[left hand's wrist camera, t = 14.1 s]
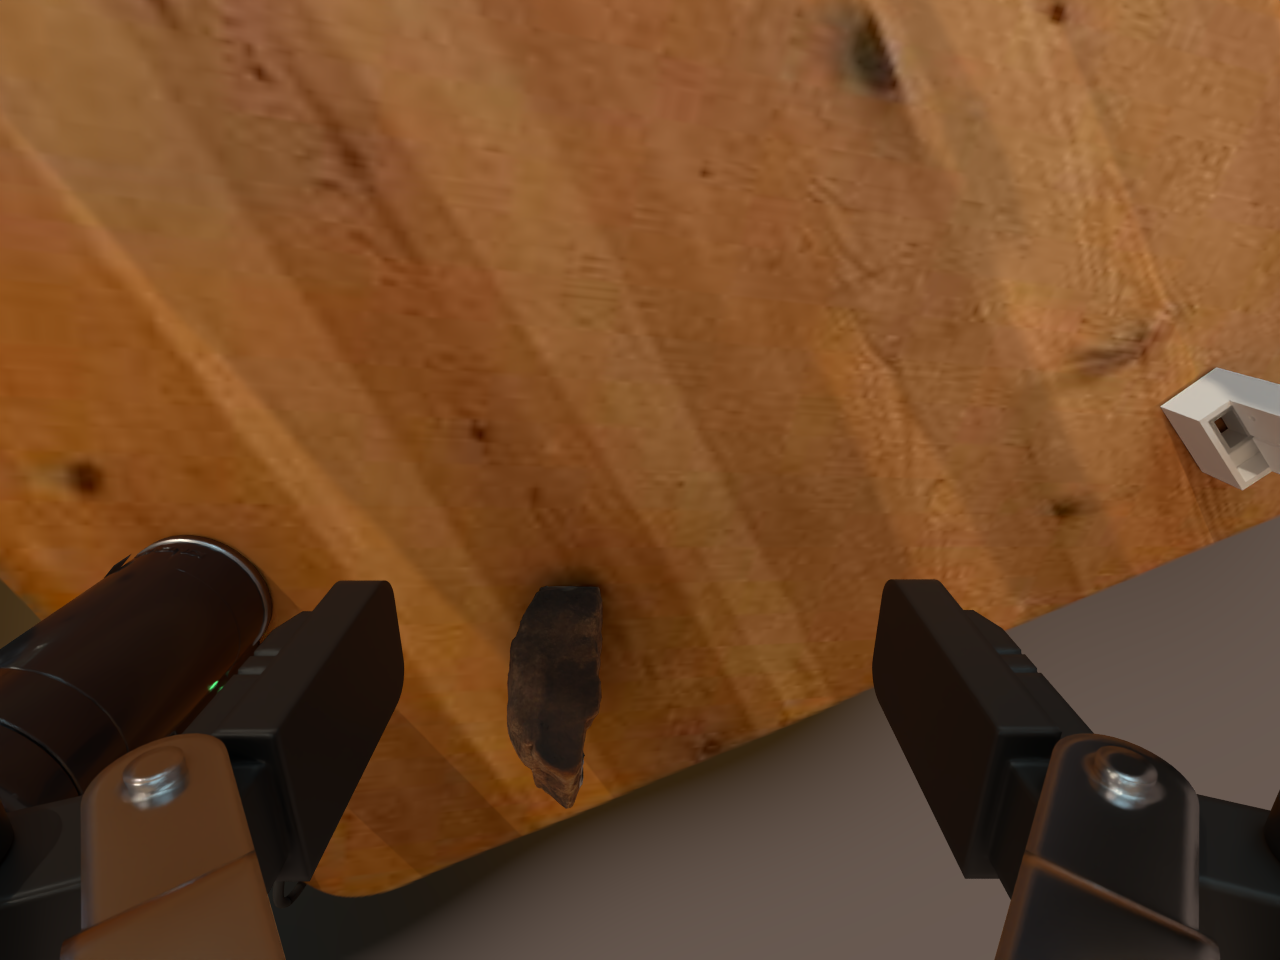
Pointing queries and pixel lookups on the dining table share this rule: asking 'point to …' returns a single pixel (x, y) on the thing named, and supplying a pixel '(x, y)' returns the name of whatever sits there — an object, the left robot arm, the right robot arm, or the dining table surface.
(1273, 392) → the white angled block
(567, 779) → the decorative rock
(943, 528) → the dining table surface
